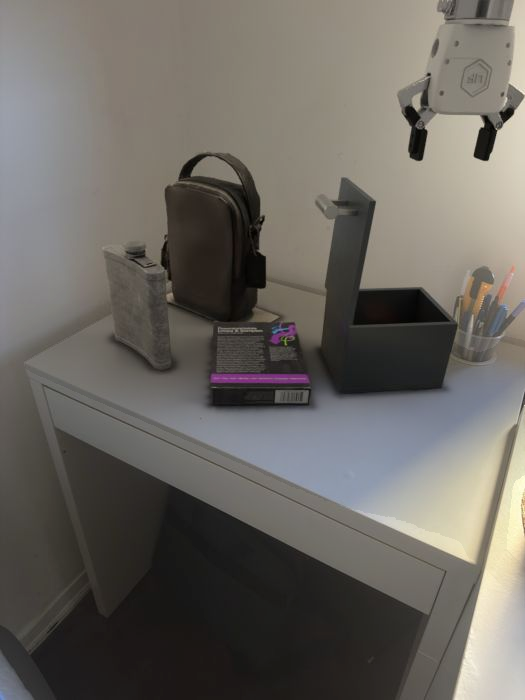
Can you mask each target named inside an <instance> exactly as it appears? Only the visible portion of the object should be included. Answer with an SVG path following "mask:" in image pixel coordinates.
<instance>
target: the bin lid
mask: <svg viewBox="0 0 525 700" xmlns="http://www.w3.org/2000/svg"><path fill="white" fill-rule="evenodd" d="M339 183H340V185H339V190H338V197H337V199H335V198H334V199H333V198H329V197H328V196H327V195H326V194H319V195H317V196H316V198H315V199H314V204H315V206H316V208H317V209H318V210H319V211H320V212H321V213H322V214H323V215H324V217H325V218H326V219H327V220H334V221H333V229H332V235H331V242H330V249H329V256H328V261H327V268H326V275H325V281H324V288H325V290H326V293H327V292H328V293H329V295H330V297H331V299H332V300H333V302H334V304H335V306H336V307H337V309H338V311H339V312H340V314H341V316H342V318H343V319H344V321H345V323H346V324H347V325H352V324H353V319H354V314H355V309H356V303H357V298H358V293H359V289H361V288H360V287H361V282H362V278H363V272H364V267H365V261H366V256H367V251H368V246H369V240H370V236H371V231H372V225H373V220H374V215H375V210H376V204H377V201H376V199H374V198H373V197H372V196H371V195H369V194H368V193H367V192H365V191H364V190H363V189H362V188H361V187H360V186H358V185H357V184H356V183H354V182H353V181H352V180H351V179H350V178H348V177H343V176H341V177H340V182H339Z"/></svg>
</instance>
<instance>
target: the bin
mask: <svg viewBox="0 0 525 700" xmlns="http://www.w3.org/2000/svg"><path fill="white" fill-rule="evenodd" d="M325 294H326V295H325V302H324V313H323V322H322V333H321V342H320V351H321V353H322V355H323V358H324V359H325V362H326V364H327V366H328V368H329V371H330V373H331V375H332V378H333V380H334V382H335V384H336V386H337V389H338V391H339V393H340V394H353V393H370V392H374V393H375V392H389V391H390V392H391V391H406V390H425V389H442V388H443V385H444V381H445V378H446V374H447V370H448V366H449V363H450V359H451V354H452V351H453V346H454V342H455V340H456V334H457V331H458V328H459V323H458V322H457V321H456V319H454V317H452V316H451V314H449V312H448V311H447V310H446V309H444V307H442V305H440V303H439V302H438V301H436V300H435V298H433V296H432V295H431V294H430V293H428V291H427V290H426V289H425V288H423V287H422V286H408V287H405V286H404V287H371V288H359V293H358V298H357V303H356V309H355V314H354V319H353V324H352V325H347V324H346V323H345V321H344V319H343V318H342V316H341V314H340V312H339V311H338V309H337V307H336V306H335V304H334V302H333V300H332V299H331V297H330V295H329V293H328V292H327V291H326V293H325Z"/></svg>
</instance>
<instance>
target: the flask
mask: <svg viewBox="0 0 525 700" xmlns="http://www.w3.org/2000/svg"><path fill="white" fill-rule="evenodd" d="M146 249H147V242H146V241H145V240H141V239H130V240H126V241H124V242H123V243H122V245H120V244H108V245H105V246H103V247H102V254H103V260H104V268H105V274H106V282H107V290H108V297H109V302H110V303H109V305H110V310H111V320H112V324H113V331H114V332H113V333H114V338H115V340H116V341H117V342H120V343H122V344H124V345H126V346H128V347H130V348H131V349H133V350H135V351H136V352H137V353H138V354H140V355H141V356H143V357H144V359H146V360H147V361H148V362H149V363H150V365H151V366H152V367H153V368H154V369H156V370H161V371H163V370H164V371H165V370H167V369H169V368H171V367H172V363H173V361H172V351H171V350H172V349H171V336H170V323H169V310H168V301H167V294H168V293H167V282H166V270H165V269H164V268H163V267H162V266H161V263H158V262H157V261H156V260H154V259H152V258H151V257H149V256H147V255H146V254H147V253H146V251H147V250H146Z"/></svg>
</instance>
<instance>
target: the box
mask: <svg viewBox="0 0 525 700" xmlns="http://www.w3.org/2000/svg"><path fill="white" fill-rule="evenodd" d="M212 324H213V325H212V346H211V347H212V349H211V367H210V386H209V387H210V389H209V390H210V403H211V404H212V405H310V402H311V396H312V395H311V394H312V385H311V382H310V378H309V374H308V370H307V367H306V363H305V359H304V355H303V350H302V346H301V343H300V338H299V334H298V330H297V326H296V322H295V321H286V322H285V321H283V322H281V321H279V322H278V321H275V322H273V321H272V322H216V321H214V320H213V323H212Z"/></svg>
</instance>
